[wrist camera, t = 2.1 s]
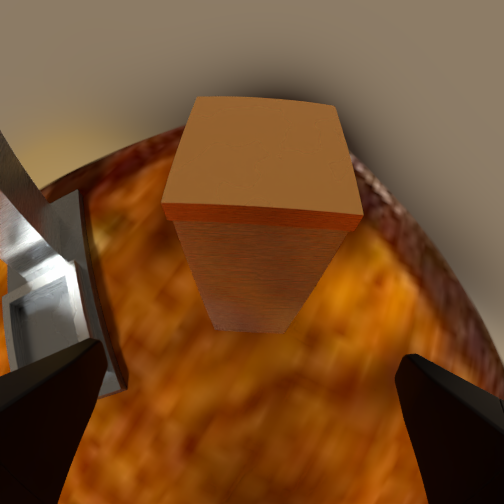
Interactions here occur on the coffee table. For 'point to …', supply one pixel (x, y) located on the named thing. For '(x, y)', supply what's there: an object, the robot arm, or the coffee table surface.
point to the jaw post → (260, 205)
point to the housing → (47, 273)
